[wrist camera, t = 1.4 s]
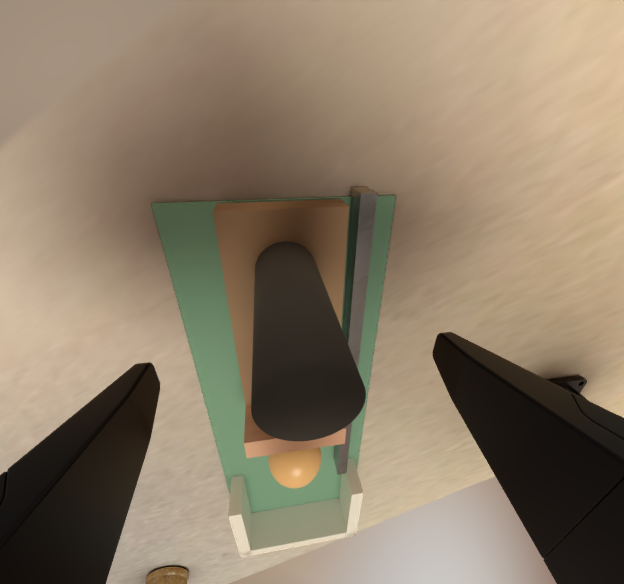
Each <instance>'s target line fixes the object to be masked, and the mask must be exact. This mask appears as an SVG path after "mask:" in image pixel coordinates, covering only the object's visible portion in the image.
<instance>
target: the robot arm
mask: <svg viewBox="0 0 624 584" xmlns="http://www.w3.org/2000/svg"><path fill="white" fill-rule="evenodd" d="M433 358H434V361H435V363H436V365H437V368H438V370H439V372H440V374H441V377H442V379H443V381H444V383H445V386H446V388H447V390H448V392H449V395H450V397H451V399H452V401H453V402H454V404H455V406H456V408H457V410H458V411H459V413H460V415H461V417H462V418H463V420H464V422H465V424H466V425H467V427H468V429H469V431H470V432H471V434H472V436H473V438H474V439H475V441H476V443H477V445H478V446H479V448H480V450H481V452H482V453H483V455H484V457H485V459H486V460H487V462H488V464H489V465H490V467H491V469H492V471H493V472H494V474H495V476H496V478H497V479H498V481H499V483H500V484H501V486H502V488H503V490H504V492H505V493H506V495H507V497H508V498H509V500H510V502H511V504H512V505H513V507H514V509H515V511H516V513H517V514H518V516H519V518H520V519H521V521H522V523H523V525H524V527H525V528H526V530H527V532H528V534H529V535H530V537H531V539H532V541H533V542H534V544H535V546H536V547H537V549H538V551H539V553H540V554H541V556H542V557H543V558H544V562H545V564H546V565H547V567H548V569H549V571H550V572H551V574H552V576H553V578H554V579H555V581H556V583H557V584H624V418H623V417H621V416H618V415H616V414H614V413H612V412H610V411H608V410H606V409H604V408H602V407H600V406H598V405H595V404H593V403H591V402H589V401H588V400H587V399H586V398H585V397H583V396H582V395H581V394H580V392H581V390H582V389H583V387H584V386H585V384H586V382H587V380H586V379H584V378H583V377H582V376H578V377H570V378H563V379H555V380H546V379H544V378H542V377H540V376H538V375H536V374H534V373H532V372H530V371H528V370H526V369H524V368H522V367H520V366H518V365H516V364H514V363H512V362H510V361H508V360H506V359H504V358H502V357H500V356H498V355H496V354H494V353H492V352H490V351H488V350H486V349H484V348H482V347H480V346H478V345H476V344H474V343H472V342H470V341H468V340H466V339H464V338H462V337H460V336H458V335H456V334H454V333H452V332H445V333H439V334H438V335H437V338H436V342H435V345H434V349H433ZM159 392H160V382H159V379H158V376H157V374H156V371H155V368H154V366H153V364H152V363H149V362H148V363H138V364H135V365H134V366H133V367H131V368H130V369H129V370H128V371H127V372H125V373H124V374H123V375H122V376H120V377H119V378H118V379H117V380H116V381H114V382H113V383H112V384H111V385H109V386H108V387H107V388H106V389H105V390H103V391H102V392H101V393H100V394H99V395H97V396H96V397H95V398H94V399H92V400H91V401H90V402H89V403H88V404H86V405H85V406H84V407H83V408H81V409H80V410H79V411H78V412H77V413H75V414H74V415H73V416H72V417H71V418H69V419H68V420H67V421H66V422H64V423H63V424H62V425H61V426H60V427H58V428H57V429H56V430H55V431H54V432H52V433H51V434H50V435H49V436H47V437H46V438H45V439H44V440H43V441H41V442H40V443H39V444H38V445H36V446H35V447H34V448H33V449H32V450H30V451H29V452H28V453H27V454H26V455H24V456H23V457H22V458H21V459H19V460H18V461H17V462H16V463H15V464H13V465H12V466H11V467H10V468H9V469H8V471H7V472H4V473H2V474H1V475H0V584H106V581H107V578H108V574H109V571H110V568H111V565H112V561H113V558H114V555H115V552H116V549H117V545H118V542H119V539H120V536H121V533H122V529H123V526H124V523H125V520H126V516H127V513H128V510H129V507H130V504H131V500H132V497H133V494H134V491H135V488H136V484H137V481H138V478H139V475H140V471H141V468H142V465H143V462H144V459H145V455H146V452H147V449H148V445H149V442H150V438H151V433H152V428H153V423H154V418H155V413H156V407H157V402H158V397H159Z"/></svg>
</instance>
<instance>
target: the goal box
mask: <svg viewBox="0 0 624 584" xmlns="http://www.w3.org/2000/svg"><path fill="white" fill-rule="evenodd" d="M362 498H363V490H362V486H361V483H360V479H359V476H358V472H357V468H356V465H355V461H354V458H348V463H347V472H346V473H345V474H342V475H341V485H340V495H339V498H336V499H330V500H325V501H319V502H313V503H308V504H302V505H296V506H290V507H285V508H279V509H273V510H268V511H262V512H256V513H251V510H250V505H249V500H248V496H247V491H246V486H245V482H244V477H243V475H240V476H234V477H231V489H230V502H229V515H228V517H229V520H230V524H231V527H232V530H233V534H234V537H235V540H236V544H237V547H238V550H239V554H240V557H246V556H251V555H257V554H262V553H267V552H272V551H277V550H282V549H288V548H293V547H298V546H303V545H308V544H313V543H319V542H324V541H329V540H334V539H339V538H344V537H350V536H355V535H356V532H357V526H358V521H359V515H360V509H361V504H362Z"/></svg>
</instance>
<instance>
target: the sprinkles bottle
mask: <svg viewBox="0 0 624 584" xmlns="http://www.w3.org/2000/svg"><path fill="white" fill-rule="evenodd" d="M188 577H189V575H188V572H187V570H185V569H183V568H180V567H165V568H161V569H159V570H156V571H154V572H152V573H150V574H149V575H148V576H147V578H146V584H187V580H188Z"/></svg>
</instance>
